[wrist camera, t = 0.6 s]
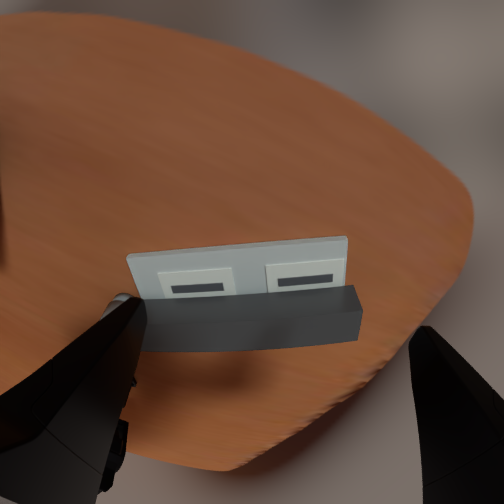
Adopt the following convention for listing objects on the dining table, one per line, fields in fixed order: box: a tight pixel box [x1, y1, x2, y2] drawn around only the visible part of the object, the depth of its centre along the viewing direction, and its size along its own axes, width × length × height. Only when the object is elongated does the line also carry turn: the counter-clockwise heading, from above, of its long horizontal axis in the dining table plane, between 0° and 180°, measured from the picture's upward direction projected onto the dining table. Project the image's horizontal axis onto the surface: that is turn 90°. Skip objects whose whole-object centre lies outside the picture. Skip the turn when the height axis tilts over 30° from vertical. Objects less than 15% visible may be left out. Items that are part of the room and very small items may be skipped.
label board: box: [113, 236, 348, 301], centre depth 23 cm, size 19×10×1 cm, turn 96°
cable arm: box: [100, 285, 363, 352], centre depth 21 cm, size 20×3×3 cm, turn 96°
